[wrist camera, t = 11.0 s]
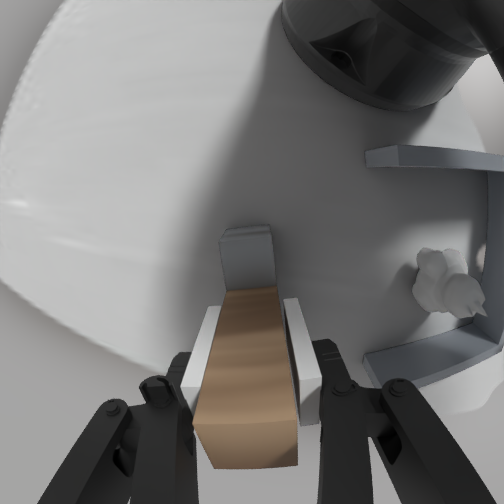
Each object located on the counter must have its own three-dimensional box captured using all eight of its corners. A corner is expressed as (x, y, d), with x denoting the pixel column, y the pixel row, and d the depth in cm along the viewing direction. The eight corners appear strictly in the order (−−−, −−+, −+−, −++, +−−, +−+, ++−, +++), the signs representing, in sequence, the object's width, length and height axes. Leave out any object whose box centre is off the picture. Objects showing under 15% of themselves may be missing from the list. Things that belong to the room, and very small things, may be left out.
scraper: (226, 229, 19) (161, 343, 6) (268, 224, 19) (293, 334, 6) (243, 337, 22) (229, 495, 8) (279, 334, 22) (297, 492, 8)
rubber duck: (421, 313, 21) (469, 361, 13) (386, 267, 20) (442, 311, 12) (458, 272, 20) (513, 306, 12) (428, 220, 19) (495, 244, 11)
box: (364, 151, 17) (396, 144, 13) (492, 159, 17) (528, 161, 12) (362, 364, 22) (380, 399, 17) (476, 329, 22) (501, 350, 17)
